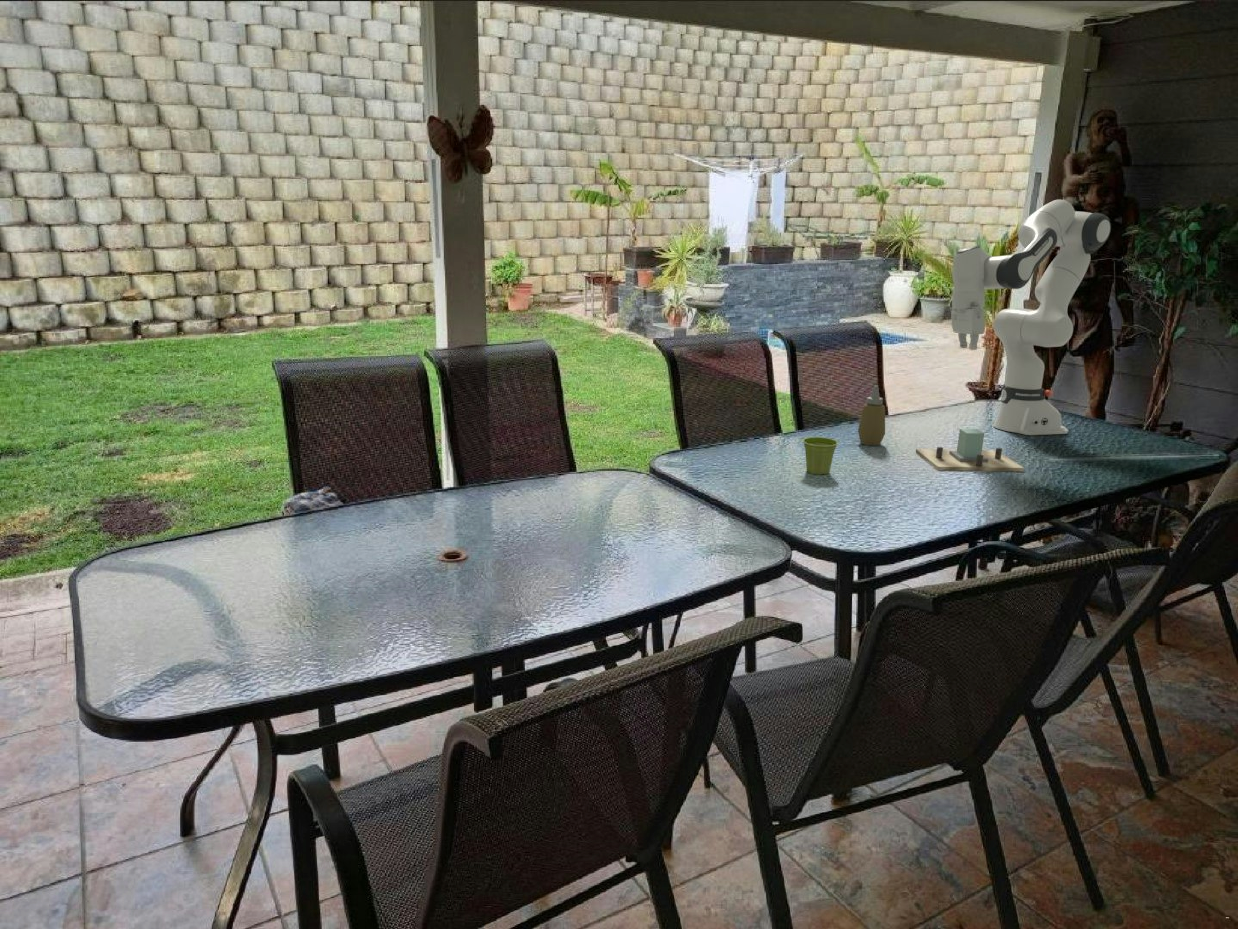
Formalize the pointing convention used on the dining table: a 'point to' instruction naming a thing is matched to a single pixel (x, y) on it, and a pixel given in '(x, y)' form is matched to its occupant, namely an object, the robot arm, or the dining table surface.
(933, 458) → the locating board
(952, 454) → the flange block
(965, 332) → the robot arm
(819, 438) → the plant pot
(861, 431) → the squeeze bottle
